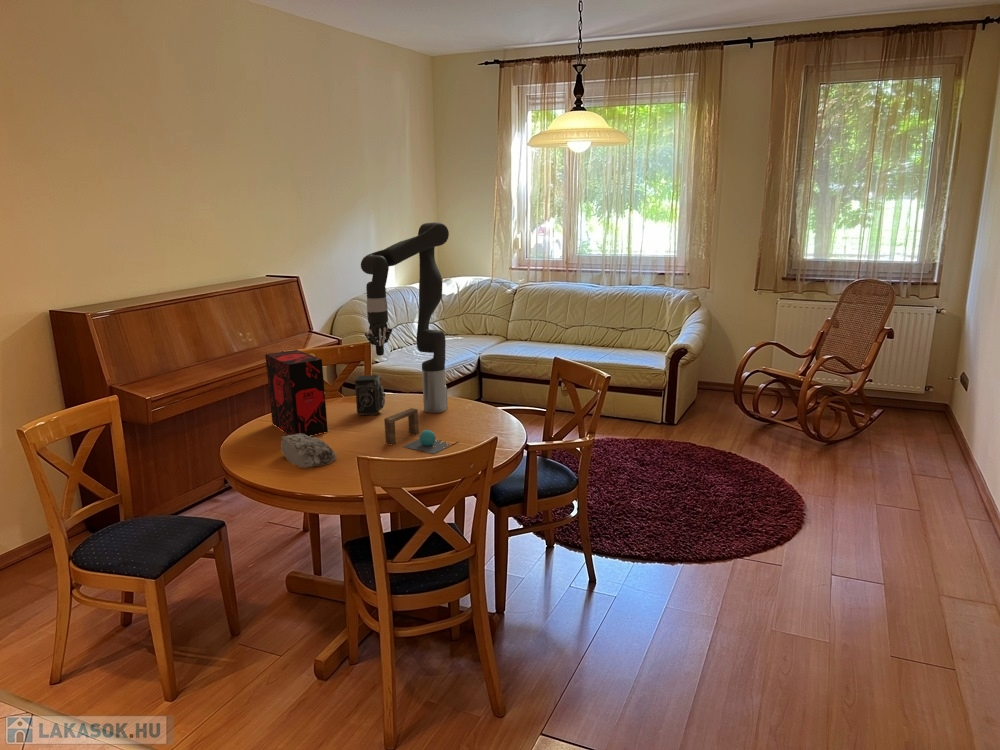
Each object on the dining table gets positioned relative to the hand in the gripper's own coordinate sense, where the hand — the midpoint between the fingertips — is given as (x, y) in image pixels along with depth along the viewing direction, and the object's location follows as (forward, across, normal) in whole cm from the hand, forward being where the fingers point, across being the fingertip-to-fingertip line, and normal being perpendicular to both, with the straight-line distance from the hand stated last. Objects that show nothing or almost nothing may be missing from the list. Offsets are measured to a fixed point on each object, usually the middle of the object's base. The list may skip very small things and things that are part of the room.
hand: (380, 355), depth 262 cm
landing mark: (+27, +10, +31) cm, 42 cm away
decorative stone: (+28, +42, +4) cm, 50 cm away
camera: (+27, -8, -14) cm, 32 cm away
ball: (+24, +11, +31) cm, 41 cm away
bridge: (+27, +10, +18) cm, 34 cm away
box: (+27, +21, -24) cm, 42 cm away
